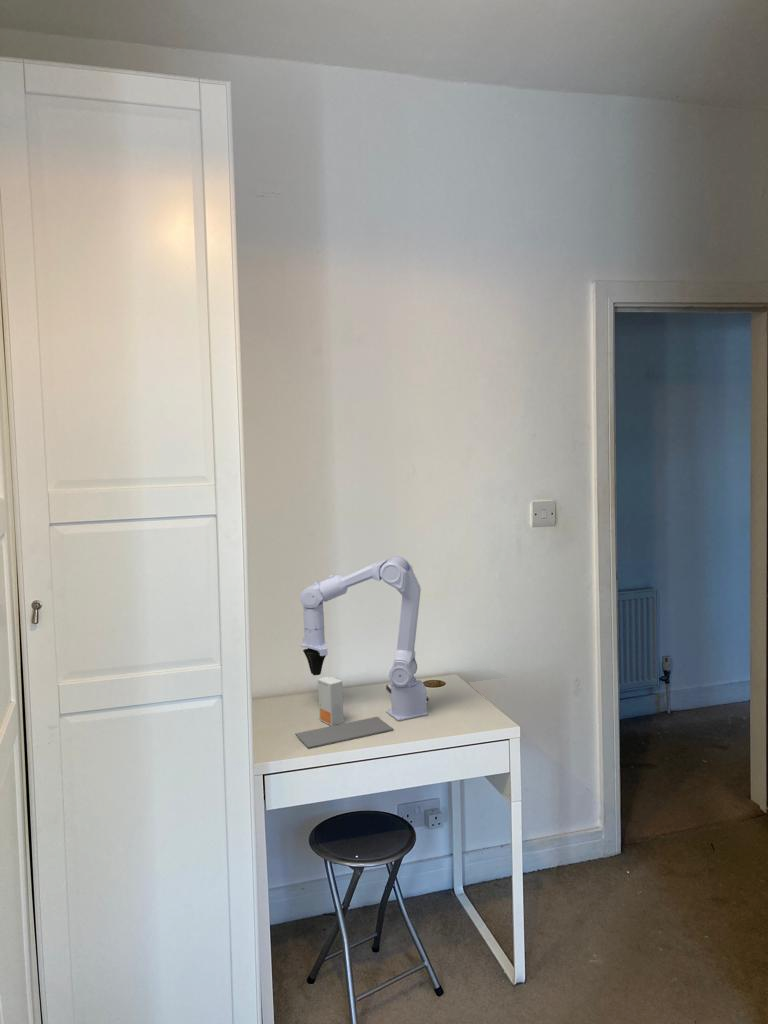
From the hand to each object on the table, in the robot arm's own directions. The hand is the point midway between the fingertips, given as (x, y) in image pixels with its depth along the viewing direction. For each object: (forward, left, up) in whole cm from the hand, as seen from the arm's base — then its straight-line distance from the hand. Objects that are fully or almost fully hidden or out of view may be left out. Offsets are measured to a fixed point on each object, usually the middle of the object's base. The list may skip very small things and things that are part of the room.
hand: (315, 674), depth 222 cm
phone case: (-28, +2, -11) cm, 30 cm away
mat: (0, +20, -10) cm, 23 cm away
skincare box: (0, +11, -11) cm, 15 cm away
